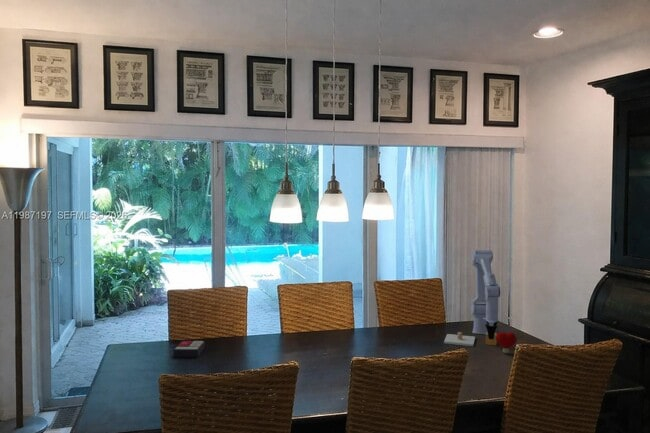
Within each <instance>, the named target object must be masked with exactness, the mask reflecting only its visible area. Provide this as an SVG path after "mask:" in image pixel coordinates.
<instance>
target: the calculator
mask: <svg viewBox="0 0 650 433" xmlns="http://www.w3.org/2000/svg"><path fill="white" fill-rule="evenodd" d="M205 343H206V342H205V341H204V340H182V341H180V343H179V344H178V345H177V346H176V347H174V349H173V358H199V357H200V354H202V352H203V351H204V350H205V347H206V346H205V345H206V344H205Z"/></svg>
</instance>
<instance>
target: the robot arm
mask: <svg viewBox="0 0 650 433" xmlns="http://www.w3.org/2000/svg"><path fill="white" fill-rule="evenodd" d="M493 260H494V253H493V251H492V250H491V249H486V250H485V249H482V250H481V249H480V250H479V249H473V250H472V252H471V263H472V266H474V267H475V282H476V283H475V285H476V288H475V289H476V291H475V292H476V293H475V294H476V296H475V298H473V299H472V300H471V302H470V305H471V306H470V313H471V315H472V316H473V328H472V333H471V334H476V335H477V334H478V335H485V336H486V332H488V337H489V339H494V334H495V333H496V330H497V329H498V325H497V324H498V323H499V298H500V297H501V287H500V285H499V283H497V279H496V276H495V274H494V273H492V272H493V271H492V265H491V264H492V262H493Z"/></svg>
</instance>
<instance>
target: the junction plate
mask: <svg viewBox="0 0 650 433" xmlns="http://www.w3.org/2000/svg"><path fill="white" fill-rule="evenodd" d="M475 340H476V336H471V335H463V332H461V331H458V332H457V334H454V333H452V334H450V333H447V334H446V336H445V338H444V341H443V344H445V345H446V344H447V345H456V346H467V347H474V346H475Z"/></svg>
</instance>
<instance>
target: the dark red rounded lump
mask: <svg viewBox="0 0 650 433" xmlns="http://www.w3.org/2000/svg"><path fill="white" fill-rule="evenodd" d="M517 340H518V339H517V336H516V334H515V333H514V332H511V331H509V332H504V331H499V332H497V336H496V341H497V343H496V344H498V345H500V346H501V347H502V352H503V353H504V354H506V355H507V354H508V353H509V352H510V348H511V347H513V346H515V345H516V343H517Z"/></svg>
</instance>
